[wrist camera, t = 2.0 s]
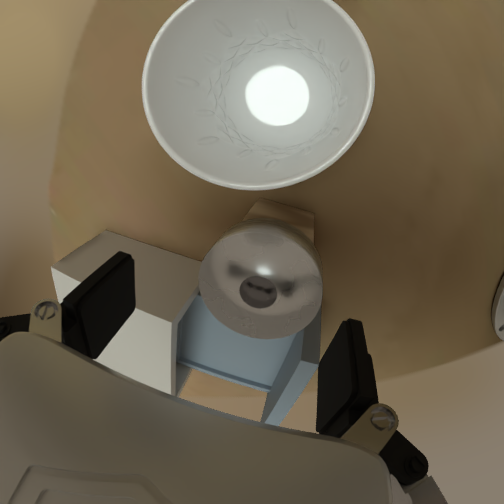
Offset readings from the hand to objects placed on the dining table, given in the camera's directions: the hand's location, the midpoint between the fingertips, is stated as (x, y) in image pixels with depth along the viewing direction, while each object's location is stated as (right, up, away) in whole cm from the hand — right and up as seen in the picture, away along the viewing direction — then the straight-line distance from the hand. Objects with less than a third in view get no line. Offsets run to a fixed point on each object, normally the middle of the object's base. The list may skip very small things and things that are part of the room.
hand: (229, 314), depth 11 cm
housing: (-9, -2, +14) cm, 17 cm away
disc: (+2, +2, +3) cm, 4 cm away
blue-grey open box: (0, -5, +13) cm, 14 cm away
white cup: (+3, +12, +5) cm, 14 cm away
